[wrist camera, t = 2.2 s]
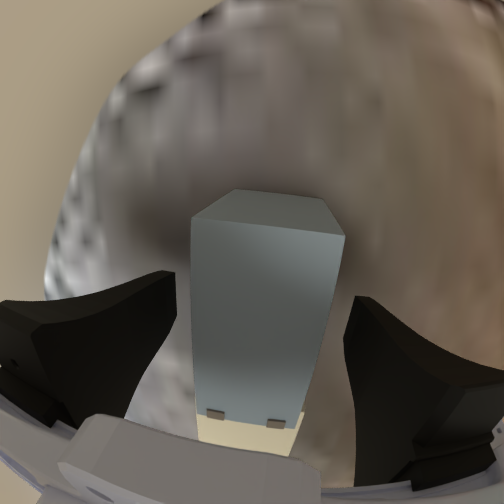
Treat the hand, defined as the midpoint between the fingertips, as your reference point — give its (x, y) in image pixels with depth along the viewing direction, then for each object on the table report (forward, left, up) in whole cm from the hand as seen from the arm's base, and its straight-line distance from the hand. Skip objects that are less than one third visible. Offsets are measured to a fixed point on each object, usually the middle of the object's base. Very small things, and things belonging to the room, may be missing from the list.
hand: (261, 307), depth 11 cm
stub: (0, 0, -3) cm, 3 cm away
